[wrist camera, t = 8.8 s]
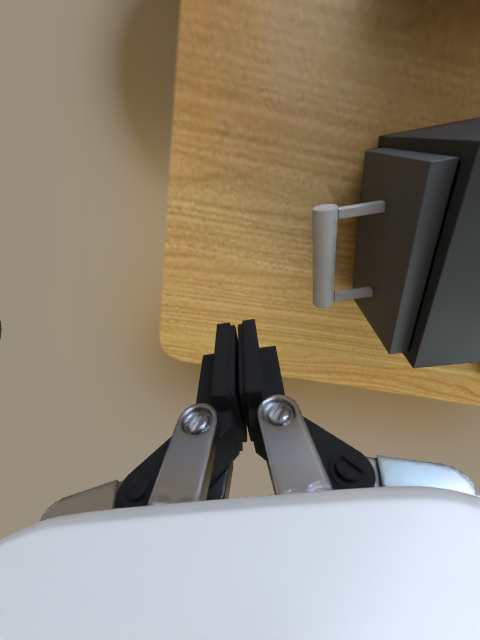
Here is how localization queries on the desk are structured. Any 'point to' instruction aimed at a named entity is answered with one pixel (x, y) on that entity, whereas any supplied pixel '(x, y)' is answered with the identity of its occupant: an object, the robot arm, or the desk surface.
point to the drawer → (388, 239)
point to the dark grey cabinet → (450, 251)
